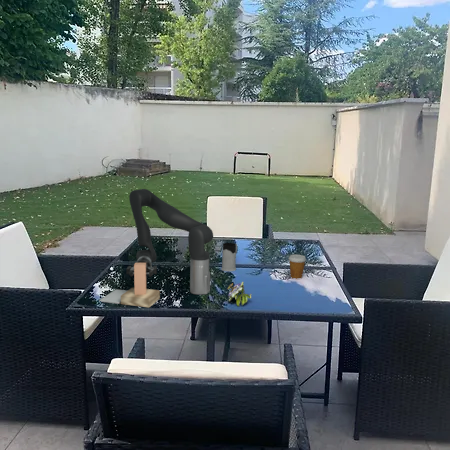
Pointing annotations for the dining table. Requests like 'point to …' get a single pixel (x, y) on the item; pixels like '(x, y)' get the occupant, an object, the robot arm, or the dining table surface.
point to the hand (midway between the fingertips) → (140, 274)
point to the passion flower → (237, 290)
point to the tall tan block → (140, 278)
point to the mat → (113, 296)
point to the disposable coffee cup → (296, 265)
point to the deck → (140, 298)
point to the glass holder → (229, 257)
